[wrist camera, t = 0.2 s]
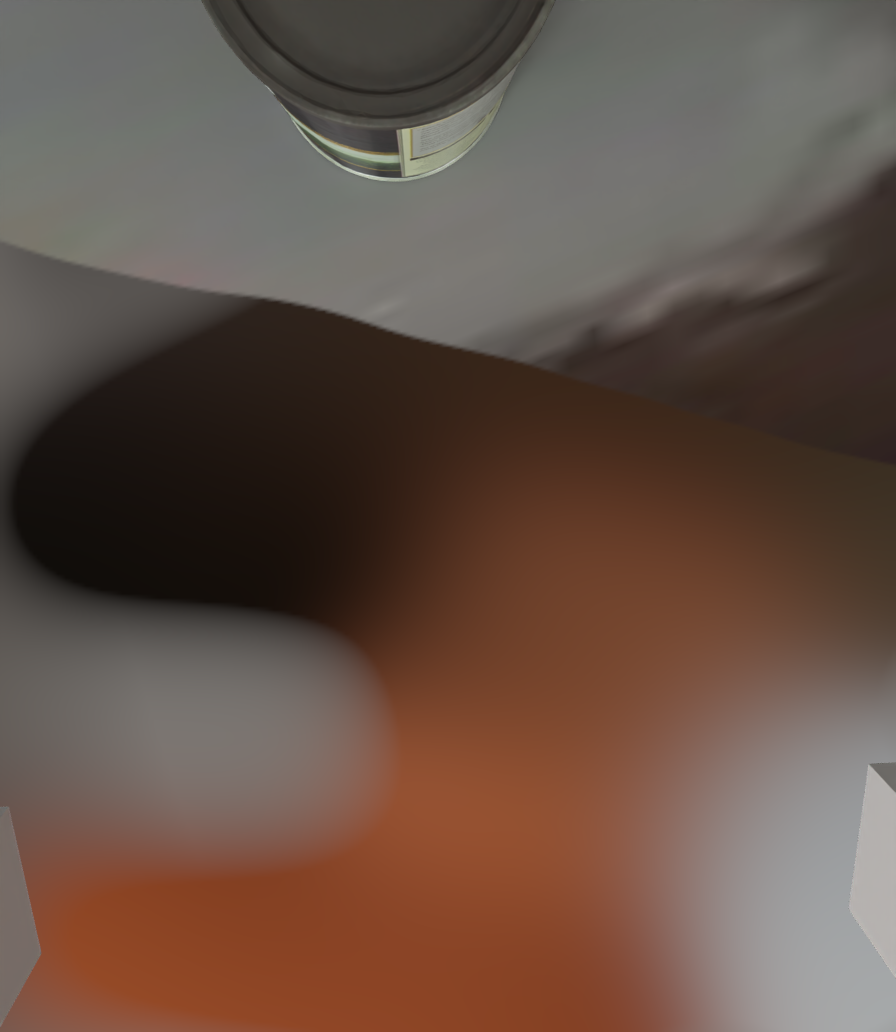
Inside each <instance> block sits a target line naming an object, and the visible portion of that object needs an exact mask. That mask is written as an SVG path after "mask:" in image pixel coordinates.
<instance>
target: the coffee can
mask: <svg viewBox="0 0 896 1032" xmlns="http://www.w3.org/2000/svg"><path fill="white" fill-rule="evenodd" d="M202 3H203V5H204V7H205V9H206V11H207V13H208V15H209V17H210V18H211V20H212V22H213V24H214V25H215V27H216V28H217V30H218V31H219V33H220V34H221V36H222V37H223V39H224V40H225V42H226V43H227V44H228V45H229V47H230V48H231V49H232V50H233V52H234V53H235V54H236V55H237V57H238V58H239V59H240V60H241V61H242V62H243V64H244V65H245V66H246V67H247V68H248V69H249V70H250V71H251V72H252V73H253V74H254V75H255V76H256V77H257V78H258V79H260V80H261V81H262V82H263V83H264V84H265V85H266V87H267V88H268V89H269V90H270V91H271V92H272V93H273V95H274V96H275V97H276V98H277V100H278V101H279V102H280V103H281V105H282V106H283V107H284V109H285V110H286V111H287V113H288V114H289V115H290V117H291V119H292V121H293V122H294V124H295V125H296V127H297V128H298V130H299V131H300V132H301V134H302V135H303V136H304V137H305V139H306V140H307V141H308V142H309V143H310V144H311V145H312V146H313V147H314V148H315V149H316V150H317V151H318V152H319V153H320V154H322V155H323V156H324V157H325V158H327V159H328V160H330V161H331V162H333V163H334V164H336V165H337V166H339V167H341V168H343V169H345V170H346V171H348V172H351V173H354V174H356V175H359V176H363V177H366V178H369V179H374V180H382V181H410V180H416V179H419V178H423V177H426V176H429V175H432V174H435V173H437V172H439V171H441V170H443V169H445V168H446V167H448V166H450V165H452V164H453V163H455V162H456V161H458V160H459V159H460V158H461V157H463V156H464V155H465V154H466V153H467V152H469V151H470V150H471V149H472V148H473V147H474V146H475V145H476V143H477V142H478V141H479V140H480V139H481V138H482V137H483V136H484V134H485V133H486V131H487V130H488V128H489V127H490V125H491V123H492V121H493V119H494V117H495V115H496V114H497V111H498V109H499V107H500V104H501V102H502V99H503V96H504V93H505V91H506V89H507V87H508V85H509V83H510V81H511V79H512V77H513V75H514V73H515V70H516V68H517V66H518V64H519V62H520V61H521V59H522V58H523V56H524V55H525V54H526V52H527V51H528V49H529V48H530V47H531V45H532V44H533V42H534V41H535V39H536V37H537V36H538V34H539V33H540V31H541V29H542V27H543V25H544V23H545V21H546V19H547V17H548V15H549V13H550V11H551V9H552V7H553V5H554V3H555V0H202Z"/></svg>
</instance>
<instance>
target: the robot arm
mask: <svg viewBox="0 0 896 1032" xmlns="http://www.w3.org/2000/svg"><path fill="white" fill-rule="evenodd" d="M849 911H850V912H851V914H852V915H853V916H854V918H855V919H856V921H857V922H858V924H859V925H860V927H861V928H862V930H863V931H864V933H865V934H866V935H867V937H868V938H869V940H870V941H871V943H872V944H873V946H874V947H875V948H876V950H877V952H878V953H879V955H880V956H881V957H882V959H883V960H884V962H885V963H886V965H887V966H888V968H889V969H890V971H891V972H892V973H893V975H894V977H895V978H896V763H877V764H869V765H868V773H867V780H866V788H865V794H864V801H863V809H862V816H861V823H860V831H859V838H858V845H857V852H856V860H855V867H854V875H853V882H852V889H851V896H850V903H849ZM40 955H41V950H40V945H39V941H38V936H37V932H36V927H35V923H34V918H33V914H32V909H31V905H30V900H29V896H28V892H27V887H26V882H25V878H24V873H23V869H22V864H21V860H20V856H19V851H18V846H17V842H16V837H15V833H14V828H13V824H12V820H11V815H10V811H9V807H0V1026H1V1025H2V1023H3V1021H4V1019H5V1017H6V1016H7V1014H8V1012H9V1010H10V1009H11V1007H12V1005H13V1003H14V1001H15V1000H16V998H17V996H18V994H19V992H20V991H21V989H22V987H23V985H24V983H25V982H26V980H27V978H28V976H29V975H30V973H31V971H32V969H33V967H34V966H35V964H36V962H37V960H38V958H39V957H40Z"/></svg>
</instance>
